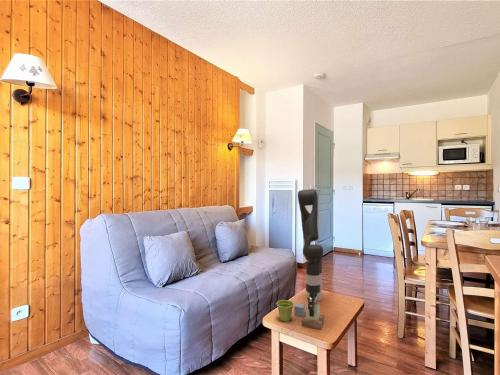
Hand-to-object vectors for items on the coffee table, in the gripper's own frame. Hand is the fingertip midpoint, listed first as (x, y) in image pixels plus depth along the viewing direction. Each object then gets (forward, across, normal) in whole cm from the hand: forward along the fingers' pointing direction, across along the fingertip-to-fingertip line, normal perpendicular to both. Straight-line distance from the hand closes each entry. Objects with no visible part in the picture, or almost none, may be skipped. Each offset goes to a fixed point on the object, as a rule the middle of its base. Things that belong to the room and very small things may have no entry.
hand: (313, 312), depth 149 cm
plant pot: (+6, +1, -15) cm, 16 cm away
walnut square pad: (+6, 0, 0) cm, 6 cm away
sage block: (+2, 0, 0) cm, 2 cm away
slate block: (+6, -8, -9) cm, 13 cm away
